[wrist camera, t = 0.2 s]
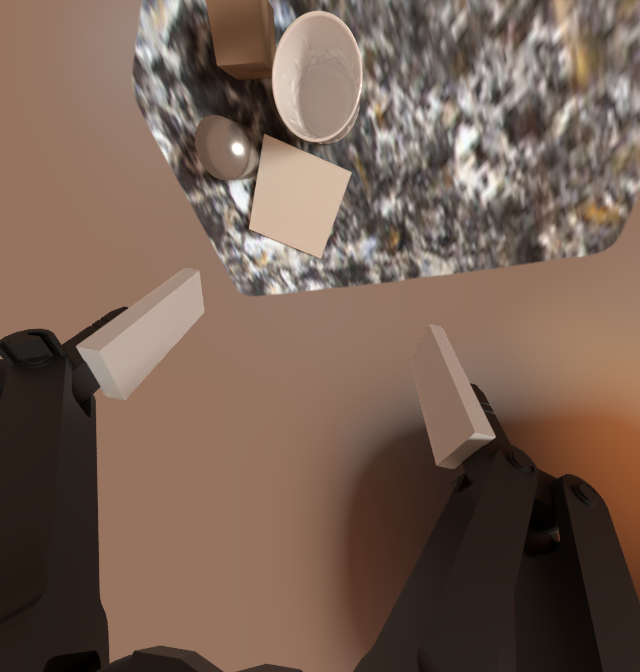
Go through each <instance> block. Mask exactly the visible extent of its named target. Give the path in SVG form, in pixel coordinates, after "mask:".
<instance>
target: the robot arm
mask: <svg viewBox="0 0 640 672" xmlns="http://www.w3.org/2000/svg"><path fill="white" fill-rule="evenodd" d="M203 313H204V305H203V297H202V289H201V281H200V273H199V270H195V269H190V268H184V269H182V270H181V271H179V272H178V273H177V274H175V275H174V276H173V277H171V278H170V279H168V280H167V281H166V282H164V283H163V284H162V285H160V286H159V287H157V288H156V289H155V290H153V291H152V292H150V293H149V294H148V295H146V296H145V297H143V298H142V299H141V300H139V301H138V302H136V303H135V304H134V305H132V306H131V307H130V308H128V307H122V308H119V309H116V310H114V311H111V312H109V313H108V314H107V315H105V316H104V317H102V318H101V319H100V320H98V321H97V322H95V323H93V324H92V326H89V327H87V328H86V329H84V330H83V331H82V332H80V333H79V334H77V335H76V336H74V337H73V338H71V339H70V340H68V341H67V342H65V343H64V344H62V345H61V344H60V343H59V341H58V339H57V338H56V336H55V334H54V333H53V332H51V331H49V330H45V329H28V330H24V331H20V332H16V333H13V334H11V335H8V336H6V337H4V338H3V339H1V340H0V356H1V357H2V358H3V359H0V672H223V671H222V670H220V669H219V668H218V667H216V666H215V665H213V664H212V663H210V662H209V661H208V660H206V659H205V658H203V657H202V656H201V655H199V654H198V653H196V652H194V651H189V650H183V649H177V648H171V647H165V646H156V647H151V648H147V649H141V650H137V651H134V652H133V654H132V655H128V656H126V657H124V658H121V659H118V660H116V661H114V662H112V663H110V664H109V637H108V625H107V624H108V623H107V618H106V614H105V611H104V609H103V606H102V604H101V600H100V590H99V542H98V498H97V497H98V494H97V451H96V450H97V447H96V400H95V397H94V395H93V393H95V392H96V391H97V390H98V389H99V388H101V389H102V391H103V392H104V395H105V396H106V397H111V398H116V399H121V400H126V399H127V397H128V396H129V395H130V394H131V393H132V392H133V391H134V390H135V389H136V387H137V386H138V385H139V384H140V383H141V382H142V381H143V380H144V378H145V377H146V376H147V375H148V374H149V373H150V372H151V371H152V370H153V369H154V367H155V366H156V365H157V364H158V363H159V362H160V361H161V360H162V359H163V357H164V356H165V355H166V354H167V353H168V352H169V351H170V350H171V348H172V347H173V346H174V345H175V344H176V343H177V342H178V341H179V340H180V339H181V337H182V336H183V335H184V334H185V333H186V332H187V331H188V330H189V329H190V327H191V326H192V325H193V324H194V323H195V322H196V321H197V320H198V318H199V317H200V316H201V315H202V314H203ZM409 362H410V366H411V369H412V373H413V377H414V381H415V385H416V389H417V392H418V396H419V400H420V404H421V408H422V412H423V416H424V419H425V423H426V427H427V431H428V435H429V439H430V442H431V446H432V450H433V454H434V458H435V462H436V465H437V466H441V467H446V468H451V469H455V468H456V467H457V466H459V465H460V464H461V463H462V464H463V467H464V469H465V472H464V473H462V474H461V475H459V476H458V477H457V478H455V479H454V480H453V481H452V482H451V483H452V484H455V483H456V482H457V483H456V486H455V487H454V489H453V492H452V493H451V495H450V497H449V499H448V501H447V503H446V505H445V507H444V509H443V511H442V513H441V515H440V517H439V519H438V521H437V523H436V525H435V526H434V528H433V530H432V533H431V534H430V536H429V538H428V540H427V542H426V544H425V546H424V548H423V550H422V552H421V554H420V556H419V558H418V560H417V562H416V564H415V566H414V568H413V570H412V572H411V574H410V576H409V577H408V579H407V582H406V583H405V585H404V587H403V589H402V591H401V593H400V595H399V597H398V599H397V601H396V603H395V605H394V607H393V609H392V611H391V613H390V615H389V617H388V619H387V621H386V623H385V625H384V626H383V628H382V630H381V632H380V634H379V636H378V639H377V640H376V642H375V644H374V646H373V647H372V648H371V650H370V651H369V652H368V653H367V654H366V655H365V656H364V657H363V658H362V659H361V660H360V662H359V664H358V665H357V666H356V668H355V670H354V671H353V672H497V670H498V665H499V661H500V656H501V651H502V647H503V642H504V637H505V633H506V627H507V623H508V619H509V614H510V609H511V605H512V600H513V595H514V613H515V638H516V639H515V640H516V667H517V672H640V603H639V600H638V597H637V594H636V591H635V588H634V585H633V582H632V579H631V576H630V573H629V570H628V567H627V564H626V562H625V558H624V555H623V552H622V549H621V546H620V543H619V540H618V537H617V534H616V532H615V528H614V525H613V522H612V520H611V516H610V513H609V510H608V508H607V506H606V504H605V502H604V500H603V499H602V497H601V496H600V495H599V494H598V492H597V491H596V490H595V489H594V488H593V487H592V486H590V485H589V484H588V483H586V482H585V481H584V480H582V479H581V478H579V477H577V476H574V475H571V474H565V475H563V476H561V477H559V478H555V477H553V476H551V475H549V474H547V473H545V472H543V471H541V470H539V469H537V467H536V465H535V464H534V462H533V461H532V460H531V458H530V457H529V456H528V455H526V454H525V453H524V452H523V451H522V450H520V449H519V448H517V447H515V446H513V445H511V444H510V442H509V440H508V438H507V437H506V434H505V433H504V431H503V429H502V427H501V425H500V423H499V421H498V419H497V417H496V415H495V414H493V410H492V408H491V406H489V402H488V401H487V399H486V397H485V395H484V393H483V392H482V391H481V390H480V389H479V388H478V387H477V386H476V385H474V384H471V383H469V381H468V379H467V377H466V375H465V373H464V371H463V369H462V367H461V365H460V363H459V361H458V359H457V356H456V354H455V353H454V350H453V348H452V346H451V344H450V342H449V341H448V338H447V336H446V334H445V332H444V330H443V328H442V327H440V326H436V325H431V324H429V325H428V327H427V329H426V330H425V332H424V333H423V335H422V337H421V338H420V340H419V342H418V343H417V345H416V347H415V348H414V350H413V351H412V353H411V355H410V356H409ZM558 532H559V534H560V542H559V540H558V535H557V533H558ZM238 672H303V671H301V670H300V669H294V668H288V667H283V666H277V665H270V664H264V665H260V666H256V667H253V668H249V669H245V670H242V671H238Z"/></svg>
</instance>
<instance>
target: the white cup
mask: <svg viewBox="0 0 640 672" xmlns="http://www.w3.org/2000/svg"><path fill="white" fill-rule="evenodd" d="M272 89H273V95H274V100H275V104H276V107H277V110H278V112H279V114H280V116H281V118H282V120H283V122H284V123H285V124H286V126H287V127H288V128H289V129H290V130H291V131H292V132H293V133H294V134H295V135H296V136H298V137H300V138H301V139H304V140H306V141H310V142H315V143H320V144H330V143H336V142H338V141H339V140H341V139H343V138H345V137H346V136H347V134H348V133H349V132H350V130H351V129H352V127H353V126H354V125H355V121H356V118H357V115H358V112H359V107H360V101H361V89H362V62H361V56H360V52H359V48H358V45H357V43H356V40H355V38H354V36H353V34H352V33H351V31H350V30H349V28H348V27H347V26H346V24H345V23H344V22H343V21H342V20H340V19H339V18H338V17H336V16H335V15H333V14H331V13H328V12H324V11H313V12H309V13H306V14H304V15H302V16H300V17H299V18H297V19H296V20H295V21H294V22H293V23H292V24H291V25H290V26H289V27H288V28H287V30H286V31H285V32H284V34H283V36H282V38H281V40H280V42H279V44H278V47H277V49H276V53H275V56H274V61H273V68H272Z"/></svg>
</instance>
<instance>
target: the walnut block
mask: <svg viewBox="0 0 640 672" xmlns="http://www.w3.org/2000/svg"><path fill="white" fill-rule="evenodd" d="M206 4H207V10H208V16H209V22H210V27H211V33H212V39H213V45H214V51H215V57H216V63H217V66H218V67H220V68H221V69H222V70H224V71H225V72H227V73H228V74H230V75H231V76H233V77H234V78H235V79H237V80H249V79H265V78H272V68H273V61H274V56H275V53H276V41H275V27H274V14H273V8H272V7H271V5H270V3H269V2H268V0H206Z"/></svg>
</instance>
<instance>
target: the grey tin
mask: <svg viewBox="0 0 640 672" xmlns="http://www.w3.org/2000/svg"><path fill="white" fill-rule="evenodd" d="M195 147H196V152H197V155H198V157H199V160H200V162H201V163H202V165H203V167H204V168H205V169H206V170H207V171H208V172H209V173H210V174H211V175H212V176H214V177H215V178H217V179H220V180H237V179H249V178H252V177H254V176H255V175H256V174H257V173H258V169H259V163H260V157H261V150H262V146H261V143H260V141H259V139H258V137H257V135H256V134H255V133H254V131H253V130H252V129H250V128H249V127H248V126H246V125H243V124H241V123H238V122H235V121H232V120H230V119H227V118H224V117H222V116H219V115H210V116H207V117H205V118H204V119H202V120H201V122H200V123H199V125H198V127H197V129H196V133H195Z"/></svg>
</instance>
